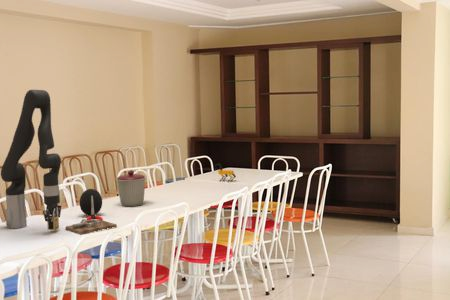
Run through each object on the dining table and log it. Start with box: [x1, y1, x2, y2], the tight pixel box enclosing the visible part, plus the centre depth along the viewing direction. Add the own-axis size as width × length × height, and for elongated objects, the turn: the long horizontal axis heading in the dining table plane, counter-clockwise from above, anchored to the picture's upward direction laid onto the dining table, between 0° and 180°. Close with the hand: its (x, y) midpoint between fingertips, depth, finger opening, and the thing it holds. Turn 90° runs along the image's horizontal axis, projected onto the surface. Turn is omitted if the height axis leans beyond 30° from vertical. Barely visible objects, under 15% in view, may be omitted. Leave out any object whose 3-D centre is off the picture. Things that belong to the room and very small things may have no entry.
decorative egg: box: [79, 188, 103, 217], centre depth 332 cm, size 12×12×15 cm
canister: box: [115, 169, 147, 207], centre depth 358 cm, size 18×18×21 cm
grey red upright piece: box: [86, 196, 104, 221], centre depth 319 cm, size 8×13×9 cm
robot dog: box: [213, 162, 237, 183], centre depth 439 cm, size 6×18×13 cm, turn 55°
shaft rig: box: [65, 218, 118, 236], centre depth 301 cm, size 20×16×4 cm
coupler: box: [46, 216, 60, 231], centre depth 296 cm, size 4×4×6 cm
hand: (53, 227), depth 296 cm, fingers closed on coupler, 4 cm apart
